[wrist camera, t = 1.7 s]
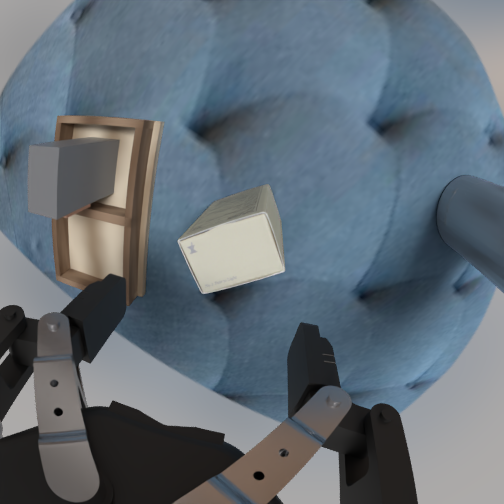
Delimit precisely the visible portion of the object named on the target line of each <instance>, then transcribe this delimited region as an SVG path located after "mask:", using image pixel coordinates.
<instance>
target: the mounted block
mask: <svg viewBox="0 0 504 504" xmlns="http://www.w3.org/2000/svg"><path fill="white" fill-rule="evenodd" d="M119 143H120V140H117V139H108V138H97V137H86V138H77V139H69V140H61V141H54V142H47V143H41V144H35V145H29V161H28V212H31V213H34V214H38V215H42V216H45V217H49V218H52V219H56V220H58V219H60V218H62V217H64V218H68V217H70V216H72V215H74V214H76V213H78V212H80V211H82V210H84V209H86V208H89V207H90V204H91V203H93V202H95V201H97V200H99V199H102V198H104V197H106V196H108V195H111V194H113V193H114V186H115V175H116V166H117V158H118V150H119Z"/></svg>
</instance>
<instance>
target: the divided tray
mask: <svg viewBox="0 0 504 504" xmlns="http://www.w3.org/2000/svg"><path fill="white" fill-rule="evenodd" d="M163 127H164V122H160V121H151V120H141V119H130V118H118V117H101V116H57V124H56V131H55V140H54V141H61V140H69V139H77V138H86V137H97V138H108V139H117V140H120V143H119V150H118V158H117V166H116V175H115V186H114V193H113V194H111V195H108V196H106V197H104V198H102V199H99V200H97V201H95V202H93V203H91V204H90V207H89V208H86V209H84V210H82V211H80V212H78V213H76V214H74V215H72V216H70V217H68V218H64V217H62V218H60V219H58V220H56V219H52V236H53V250H54V261H55V270H56V279H57V280H58V281H60V282H63V283H65V284H68V285H71V286H73V287H76V288H78V289H81V290H84V289H85V288H86V287H87V286H88V285H89V284H91V283H94V282H96V281H102V280H103V279H104V278H105V277H106V276H107V275H108V274H110V273H111V274H114V275H117V276H121V277H124V278H125V279H126V305H127V306H130V304H131V303H132V302H133V301H134V299H135V298H136V297H137V296H140V297H143V296H144V294H145V289H146V267H147V251H148V238H149V227H150V217H151V207H152V198H153V190H154V183H155V175H156V169H157V162H158V156H159V149H160V144H161V138H162V132H163Z"/></svg>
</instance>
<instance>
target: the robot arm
mask: <svg viewBox="0 0 504 504" xmlns="http://www.w3.org/2000/svg"><path fill="white" fill-rule="evenodd" d="M437 226H438V230H439V233H440V235H441V237H442V239H443V240H444V242H445V243H446V244H447V245H449V246H450V247H451V248H452V249H454V250H455V251H456V252H457V253H459V254H460V255H461V256H462V257H463V258H464V259H466V260H467V261H468V262H469V263H470V264H472V265H473V266H474V267H475V268H476V269H477V270H479V271H480V272H481V273H482V274H483V275H484V276H485V277H487V278H488V279H489V280H490V281H491V282H492V283H493V284H494V285H495V286H496V287H497V288H499V289H500V290H501V291H502V292H503V293H504V187H503V186H500V185H497V184H494V183H492V182H489V181H486V180H483V179H480V178H477V177H474V176H470V175H463V176H460V177H457V178H456V179H454V180H453V181H451V183H450V184H449V185H448V186H447V187H446V189H445V190H444V192H443V193H442V196H441V198H440V200H439V204H438V208H437ZM125 311H126V279H125V278H124V277H121V276H117V275H114V274H111V273H110V274H108V275H107V276H106V277H105V278H104V279H103V280H102V281H96V282H94V283H91V284H89V285H88V286H87V287H86V288H85V289H84V290H83V291H82V292H81V293H80V294H79V295H78V296H77V297H76V298H74V299H73V300H72V301H71V302H70V303H69V305H67V307H66V308H64V309H63V311H61V313H57V312H53V313H48V314H45V315H44V316H42V317H41V318H40V320H37V319H31V318H26V317H25V314H24V311H23V309H22V308H21V307H19V306H17V305H9V306H6V307H4V308H2V309H1V310H0V359H1V357H2V356H3V355H4V353H5V352H6V351H7V350H8V349H9V352H10V353H9V355H8V356H7V357H6V359H5V360H4V361H3V363H2V364H1V365H0V504H283V503H282V502H281V500H280V499H279V498H278V496H277V494H278V493H279V492H280V491H281V490H282V489H283V488H284V487H285V486H286V485H287V483H289V482H290V480H291V479H292V478H293V477H294V476H295V475H296V474H297V473H298V472H299V471H300V470H301V469H302V468H303V467H304V466H305V465H306V463H307V462H308V461H309V460H310V459H311V458H312V457H313V456H314V454H315V453H316V452H317V451H318V450H319V448H320V447H321V446H322V447H324V448H327V449H330V450H333V451H336V452H339V473H340V504H418V501H417V494H416V488H415V482H414V477H413V471H412V466H411V461H410V456H409V452H408V447H407V443H406V438H405V434H404V430H403V425H402V422H401V418H400V415H399V413H398V412H397V410H396V409H395V408H393V407H392V406H390V405H388V404H383V403H380V404H376V405H374V406H373V407H372V409H371V410H370V409H367V408H364V407H361V406H358V405H356V404H353V403H352V401H351V398H350V396H349V395H348V393H347V392H346V391H344V390H343V389H341V387H340V381H339V376H338V372H337V367H336V364H335V357H334V352H333V348H332V346H331V344H330V343H329V341H328V340H327V339H326V338H322V337H320V334H319V329H318V326H317V325H313V324H308V323H302V322H301V323H300V325H299V327H298V329H297V332H296V334H295V337H294V339H293V341H292V344H291V346H290V349H289V353H288V358H287V366H288V418H287V419H286V420H284V421H283V422H282V423H281V424H280V425H279V426H278V427H277V428H276V429H275V430H273V431H272V432H271V433H270V434H269V435H268V436H267V437H265V438H264V439H263V440H262V441H261V442H260V443H258V444H257V445H256V446H255V447H254V448H252V449H251V450H250V451H249V452H247V453H246V454H244V453H242V452H241V451H240V450H239V449H237V448H236V447H234V446H232V445H231V444H229V443H226V442H224V436H225V434H223V433H219V432H214V431H209V430H205V429H201V428H197V427H180V426H167V425H163V424H161V423H159V422H158V421H156V420H154V419H153V418H151V417H149V416H147V415H146V414H144V413H142V412H141V411H139V410H137V409H134V408H131V407H129V406H126V405H123V404H121V403H118V402H115V401H112V403H111V405H110V406H109V407H103V406H95V407H88V405H87V402H86V398H85V393H84V389H83V384H82V379H81V373H80V368H79V363H80V362H81V361H82V360H84V361H86V362H88V363H91V362H92V361H93V359H94V358H95V356H96V355H97V353H98V352H99V350H100V349H101V348H102V346H103V345H104V343H105V342H106V340H107V339H108V337H109V336H110V335H111V333H112V332H113V331H114V329H115V328H116V327H117V325H118V324H119V322H120V321H121V320H122V318H123V317H124V314H125ZM33 372H34V387H35V388H34V389H35V402H36V411H37V420H38V426H36V427H33V428H30V429H28V430H25V431H22V432H19V433H16V434H13V435H10V436H7V437H2V429H3V427H2V423H1V422H2V420H3V419H4V417H5V415H6V414H7V412H8V410H9V409H10V407H11V405H12V404H13V402H14V401H15V399H16V397H17V396H18V394H19V393H20V391H21V390H22V388H23V387H24V385H25V384H26V382H27V381H28V379H29V377H30V376H31V375H32V373H33Z"/></svg>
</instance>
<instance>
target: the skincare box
mask: <svg viewBox="0 0 504 504" xmlns="http://www.w3.org/2000/svg"><path fill="white" fill-rule="evenodd" d="M178 244H179V246H180V248H181V251H182V253H183V255H184V258H185V260H186V262H187V264H188V266H189V269H190V271H191V273H192V275H193V277H194V279H195V281H196V283H197V285H198V287H199V289H200V291H201V293H203V294H206V293H211V292H215V291H219V290H223V289H227V288H231V287H235V286H239V285H242V284H245V283H249V282H253V281H256V280H259V279H263V278H266V277H269V276H273V275H276V274H279V273H282V272H284V271H285V262H284V250H283V238H282V226H281V219H280V216H279V212H278V209H277V206H276V203H275V200H274V196H273V194H272V191H271V188H270V186H269V185H268V184H266V185H262V186H259V187H256V188H252V189H249V190H246V191H243V192H240V193H237V194H234V195H231V196H228V197H225V198H222V199H220V200H217V201H214V202H213V203H212V204H211V205H210V206H209V207H208V208H207V209H206V210H205V211H204V213H203V214H202V215H201V216H200V217H199V218H198V219H197V220H196V221H195V222H194V223H193V224H192V225H191V226H190V227H189V229H188V230H187V231H186V232H185V233H184V234H183V235H182V236H181V237H180V238H179V239H178Z"/></svg>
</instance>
